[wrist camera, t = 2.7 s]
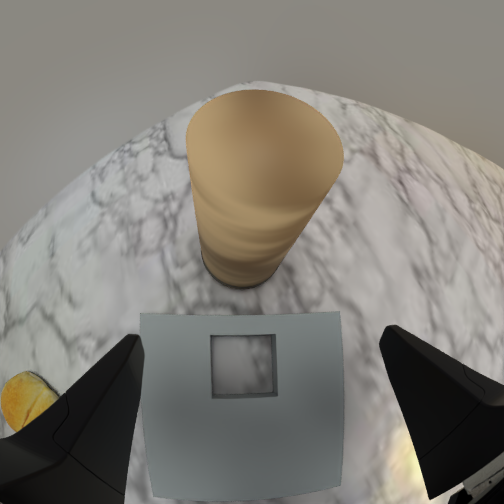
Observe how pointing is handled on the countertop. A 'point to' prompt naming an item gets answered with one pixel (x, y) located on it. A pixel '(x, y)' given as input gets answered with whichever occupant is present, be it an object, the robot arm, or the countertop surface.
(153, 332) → the slate board
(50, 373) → the countertop surface
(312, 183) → the oak leg
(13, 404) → the bread roll
